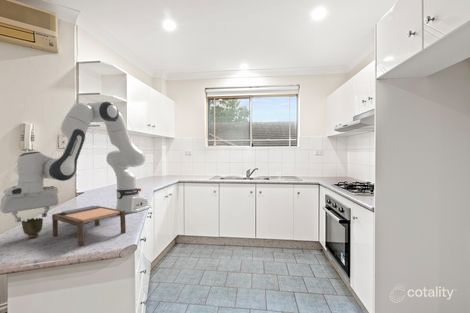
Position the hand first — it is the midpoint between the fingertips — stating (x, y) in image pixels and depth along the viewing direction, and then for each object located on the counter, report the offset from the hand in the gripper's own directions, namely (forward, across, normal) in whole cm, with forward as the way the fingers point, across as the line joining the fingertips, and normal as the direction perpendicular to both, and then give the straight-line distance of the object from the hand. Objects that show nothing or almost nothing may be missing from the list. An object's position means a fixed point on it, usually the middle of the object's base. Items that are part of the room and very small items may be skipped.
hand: (31, 219), depth 111 cm
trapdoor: (0, -15, +19) cm, 25 cm away
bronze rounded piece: (+8, 0, 0) cm, 9 cm away
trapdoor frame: (+8, -15, +19) cm, 26 cm away
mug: (+8, -22, -5) cm, 24 cm away
